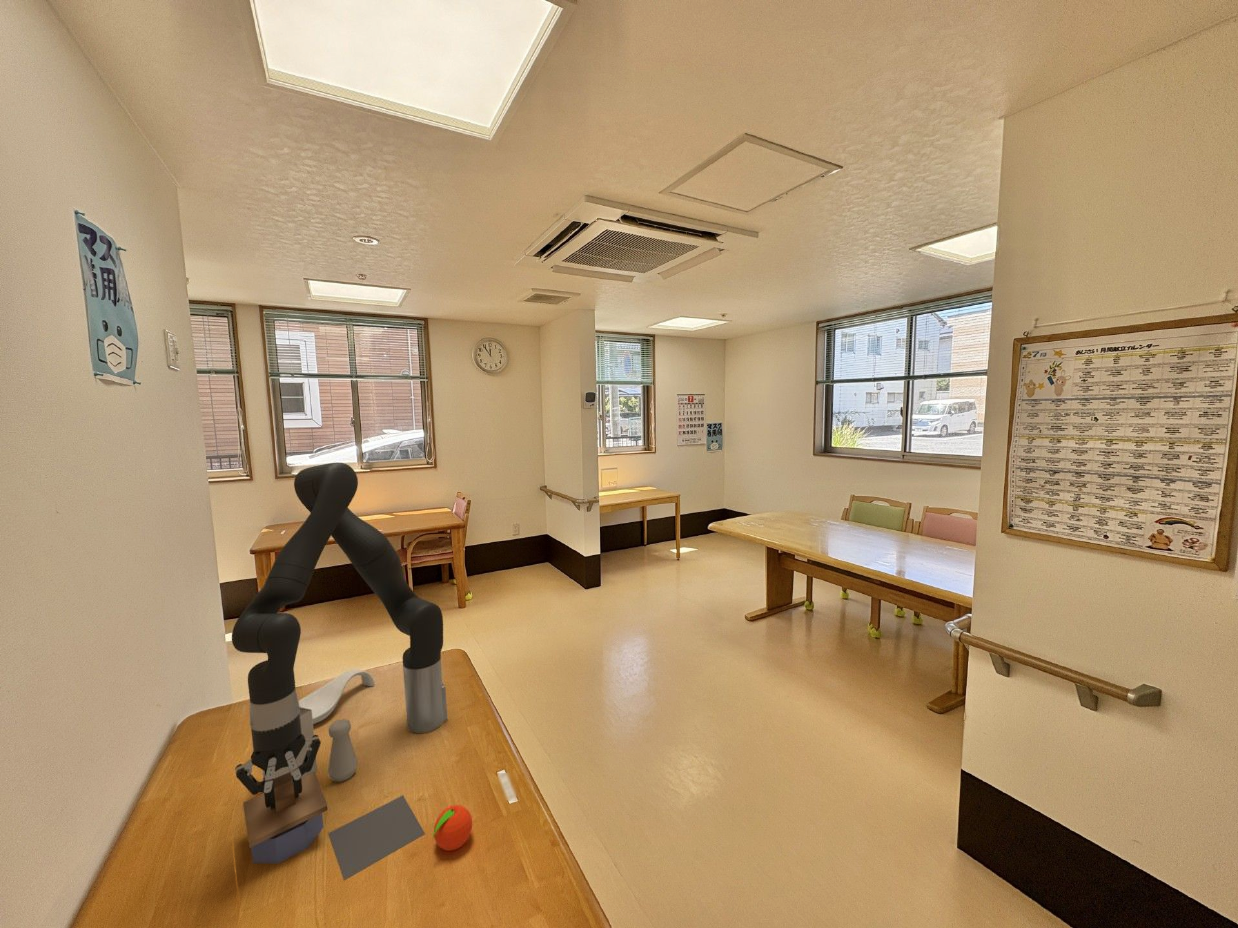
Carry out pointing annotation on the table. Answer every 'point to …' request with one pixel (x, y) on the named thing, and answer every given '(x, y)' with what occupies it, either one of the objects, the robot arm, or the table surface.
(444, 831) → the clementine
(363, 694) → the table surface
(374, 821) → the mat
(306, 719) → the milk carton
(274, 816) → the lid
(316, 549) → the robot arm
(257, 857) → the bowl
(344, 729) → the salt shaker
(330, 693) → the spoon rest
